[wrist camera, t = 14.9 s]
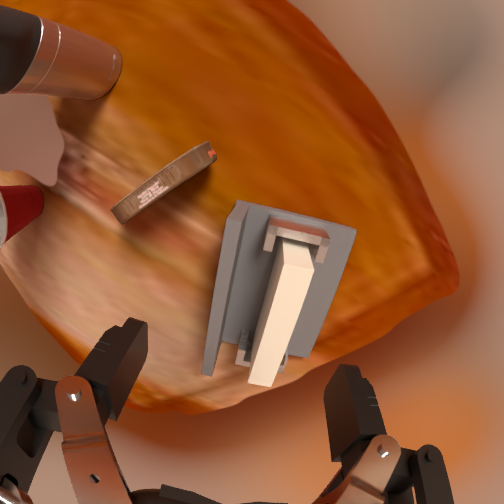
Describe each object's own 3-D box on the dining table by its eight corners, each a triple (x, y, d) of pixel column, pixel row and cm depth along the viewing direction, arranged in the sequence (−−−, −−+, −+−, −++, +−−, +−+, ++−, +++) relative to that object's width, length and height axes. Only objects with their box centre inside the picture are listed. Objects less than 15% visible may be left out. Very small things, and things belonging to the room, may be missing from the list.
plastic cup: (52, 169, 36) (0, 183, 25) (55, 230, 40) (9, 256, 29) (18, 170, 37) (-29, 183, 26) (21, 224, 41) (-21, 246, 30)
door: (253, 335, 42) (247, 382, 33) (282, 231, 36) (284, 263, 26) (279, 340, 42) (278, 388, 33) (312, 238, 36) (324, 272, 26)
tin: (214, 139, 34) (196, 137, 26) (226, 159, 34) (212, 164, 27) (128, 198, 37) (96, 213, 30) (139, 216, 38) (110, 235, 30)
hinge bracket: (212, 332, 44) (199, 373, 36) (237, 199, 36) (224, 218, 27) (307, 352, 44) (311, 394, 36) (354, 228, 36) (376, 254, 27)
